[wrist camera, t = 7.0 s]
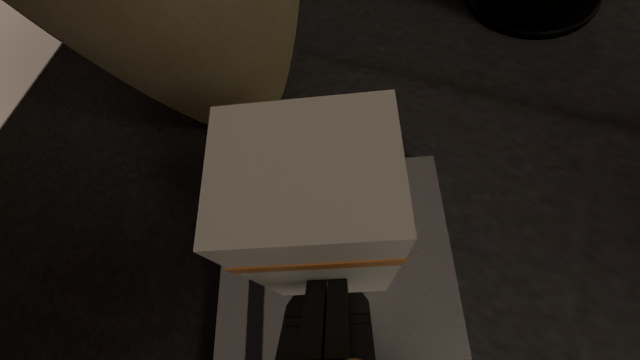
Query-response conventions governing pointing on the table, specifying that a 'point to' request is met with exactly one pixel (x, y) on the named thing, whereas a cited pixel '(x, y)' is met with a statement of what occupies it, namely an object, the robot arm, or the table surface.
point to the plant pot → (180, 46)
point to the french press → (534, 16)
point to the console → (368, 295)
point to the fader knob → (307, 192)
